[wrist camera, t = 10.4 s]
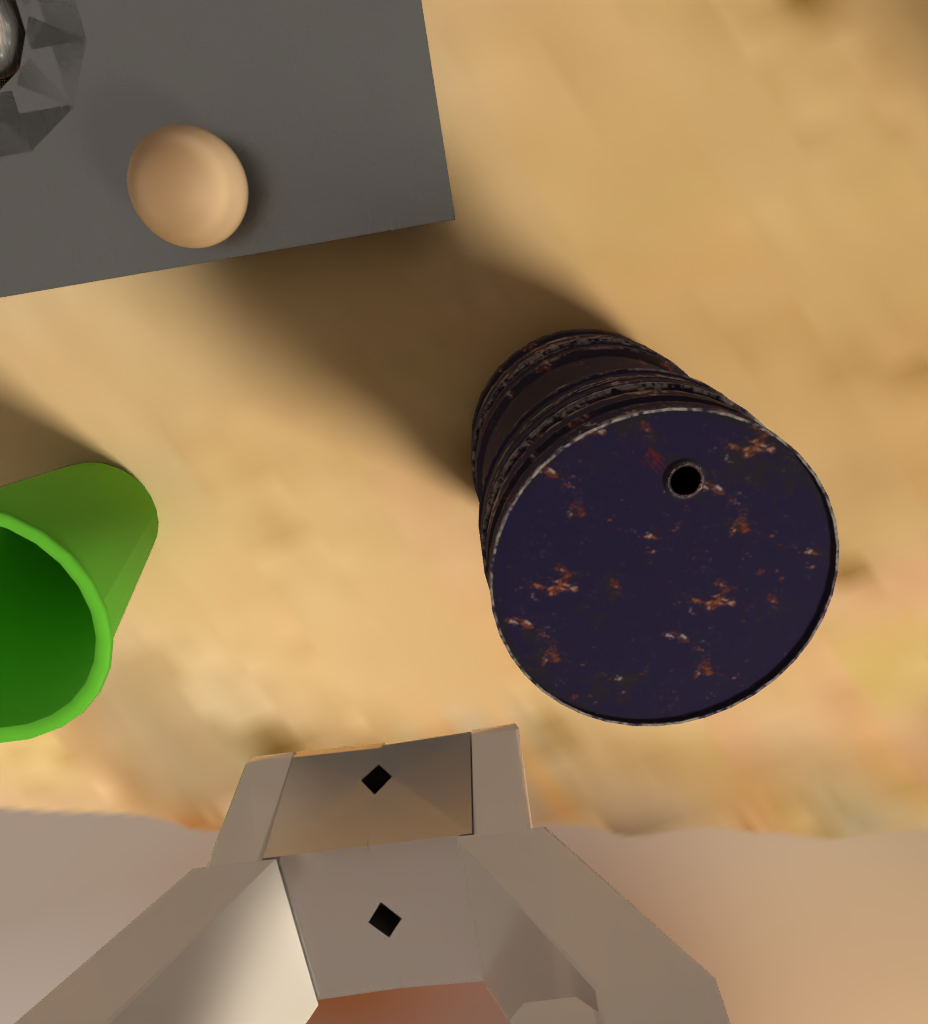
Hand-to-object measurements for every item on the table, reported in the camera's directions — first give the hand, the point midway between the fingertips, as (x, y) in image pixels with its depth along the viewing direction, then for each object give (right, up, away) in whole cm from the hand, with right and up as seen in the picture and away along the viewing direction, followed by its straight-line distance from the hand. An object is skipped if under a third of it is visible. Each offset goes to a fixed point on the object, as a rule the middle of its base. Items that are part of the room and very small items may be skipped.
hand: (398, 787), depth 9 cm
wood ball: (-9, +14, +19) cm, 25 cm away
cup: (-16, +3, +28) cm, 32 cm away
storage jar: (+6, +7, +27) cm, 29 cm away
